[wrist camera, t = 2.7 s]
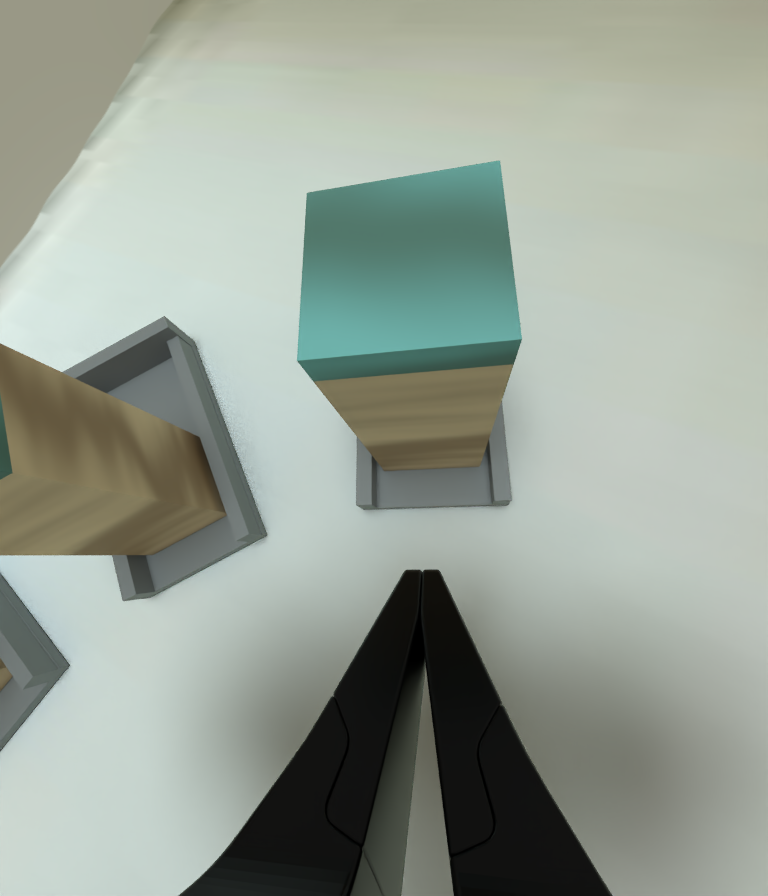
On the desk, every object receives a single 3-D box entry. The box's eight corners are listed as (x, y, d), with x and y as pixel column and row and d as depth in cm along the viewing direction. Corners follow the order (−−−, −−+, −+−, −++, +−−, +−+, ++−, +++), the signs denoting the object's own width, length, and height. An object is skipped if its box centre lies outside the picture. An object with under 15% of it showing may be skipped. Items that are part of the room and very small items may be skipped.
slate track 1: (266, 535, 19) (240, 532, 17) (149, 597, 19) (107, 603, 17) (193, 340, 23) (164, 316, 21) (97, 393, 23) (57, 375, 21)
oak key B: (230, 513, 19) (-36, 464, 9) (152, 555, 19) (-203, 555, 9) (204, 439, 21) (-52, 319, 10) (131, 478, 21) (-196, 399, 10)
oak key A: (479, 466, 18) (521, 339, 7) (384, 471, 18) (296, 360, 8) (472, 378, 19) (499, 160, 8) (383, 385, 20) (306, 192, 9)
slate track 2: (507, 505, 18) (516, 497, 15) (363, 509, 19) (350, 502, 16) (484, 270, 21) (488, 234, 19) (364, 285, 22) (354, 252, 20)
